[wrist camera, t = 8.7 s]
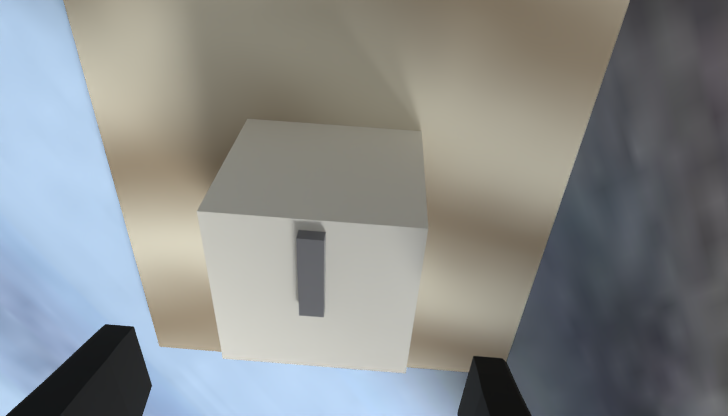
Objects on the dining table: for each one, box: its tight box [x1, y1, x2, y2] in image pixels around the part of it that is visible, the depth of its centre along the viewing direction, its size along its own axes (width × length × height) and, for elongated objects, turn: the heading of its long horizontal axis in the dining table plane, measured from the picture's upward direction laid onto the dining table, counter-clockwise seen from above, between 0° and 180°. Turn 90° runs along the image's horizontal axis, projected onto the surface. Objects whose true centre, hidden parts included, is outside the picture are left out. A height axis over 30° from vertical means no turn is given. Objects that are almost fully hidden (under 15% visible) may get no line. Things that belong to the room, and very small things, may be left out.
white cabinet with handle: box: [197, 119, 428, 373], centre depth 14 cm, size 5×5×5 cm
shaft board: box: [63, 0, 630, 372], centre depth 15 cm, size 16×14×4 cm
